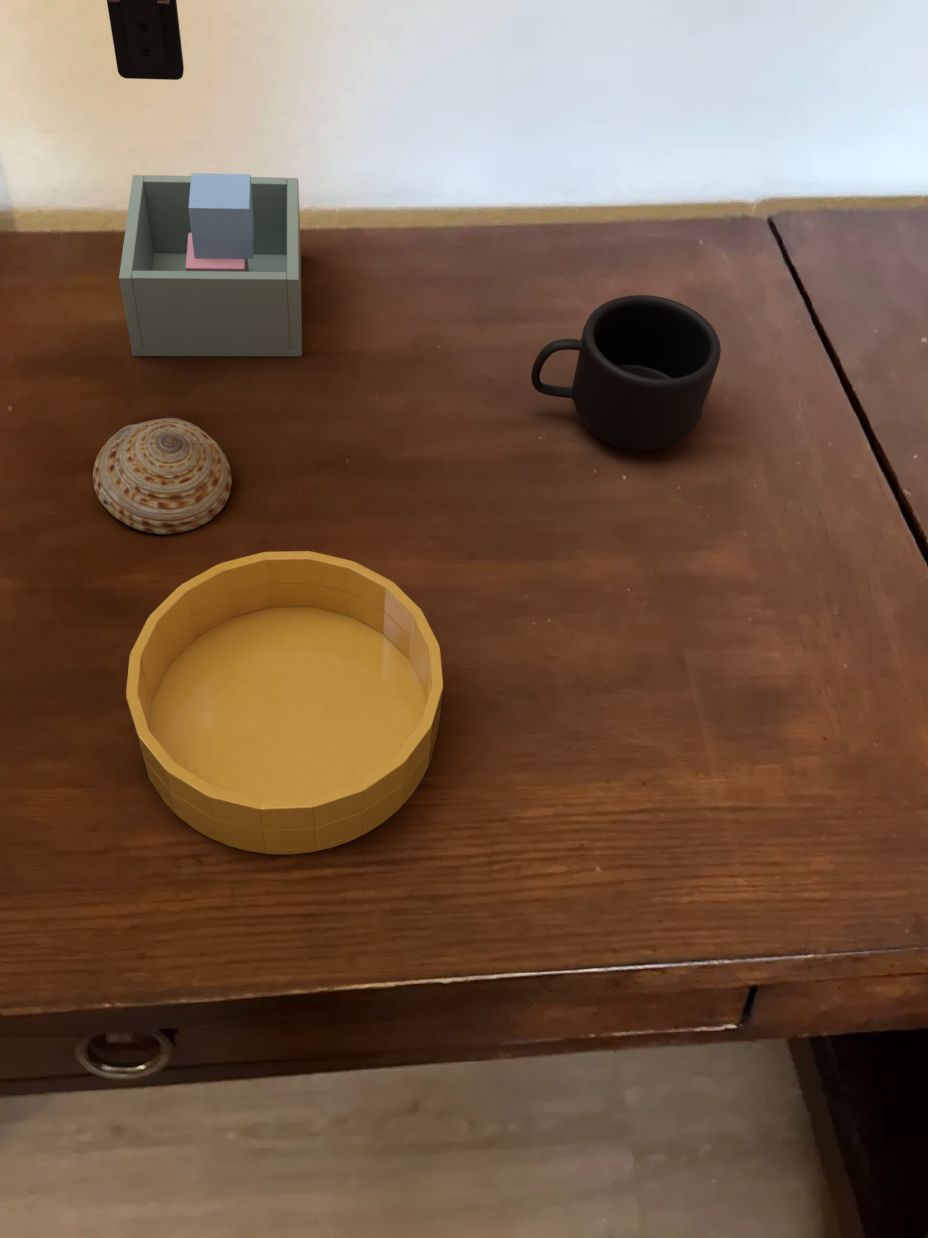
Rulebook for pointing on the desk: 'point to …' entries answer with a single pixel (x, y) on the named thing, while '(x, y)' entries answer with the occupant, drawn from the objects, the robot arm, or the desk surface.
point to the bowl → (286, 701)
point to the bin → (211, 276)
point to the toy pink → (213, 262)
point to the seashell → (162, 476)
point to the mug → (639, 371)
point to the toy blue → (221, 215)
